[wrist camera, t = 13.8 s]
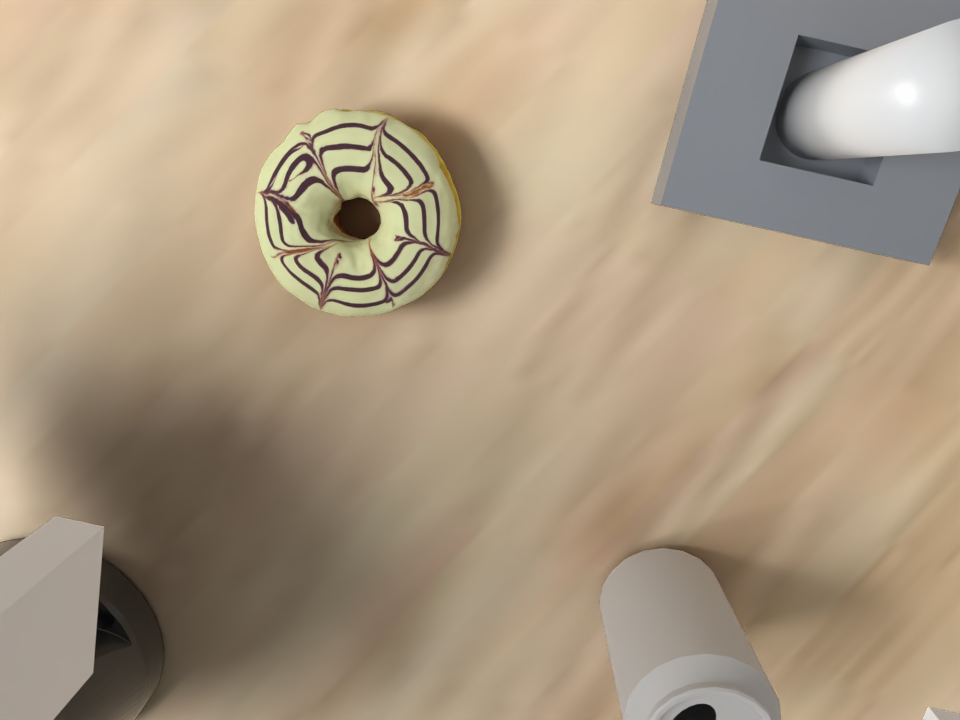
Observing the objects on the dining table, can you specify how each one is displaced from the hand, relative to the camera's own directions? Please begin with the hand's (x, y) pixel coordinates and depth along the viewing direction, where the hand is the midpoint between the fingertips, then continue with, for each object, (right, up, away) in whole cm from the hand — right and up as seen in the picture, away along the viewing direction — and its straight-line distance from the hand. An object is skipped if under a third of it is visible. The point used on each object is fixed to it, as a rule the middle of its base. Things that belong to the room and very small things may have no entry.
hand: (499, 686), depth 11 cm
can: (+11, -10, +32) cm, 35 cm away
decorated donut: (-7, +13, +27) cm, 31 cm away
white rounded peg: (+17, +18, +24) cm, 34 cm away
